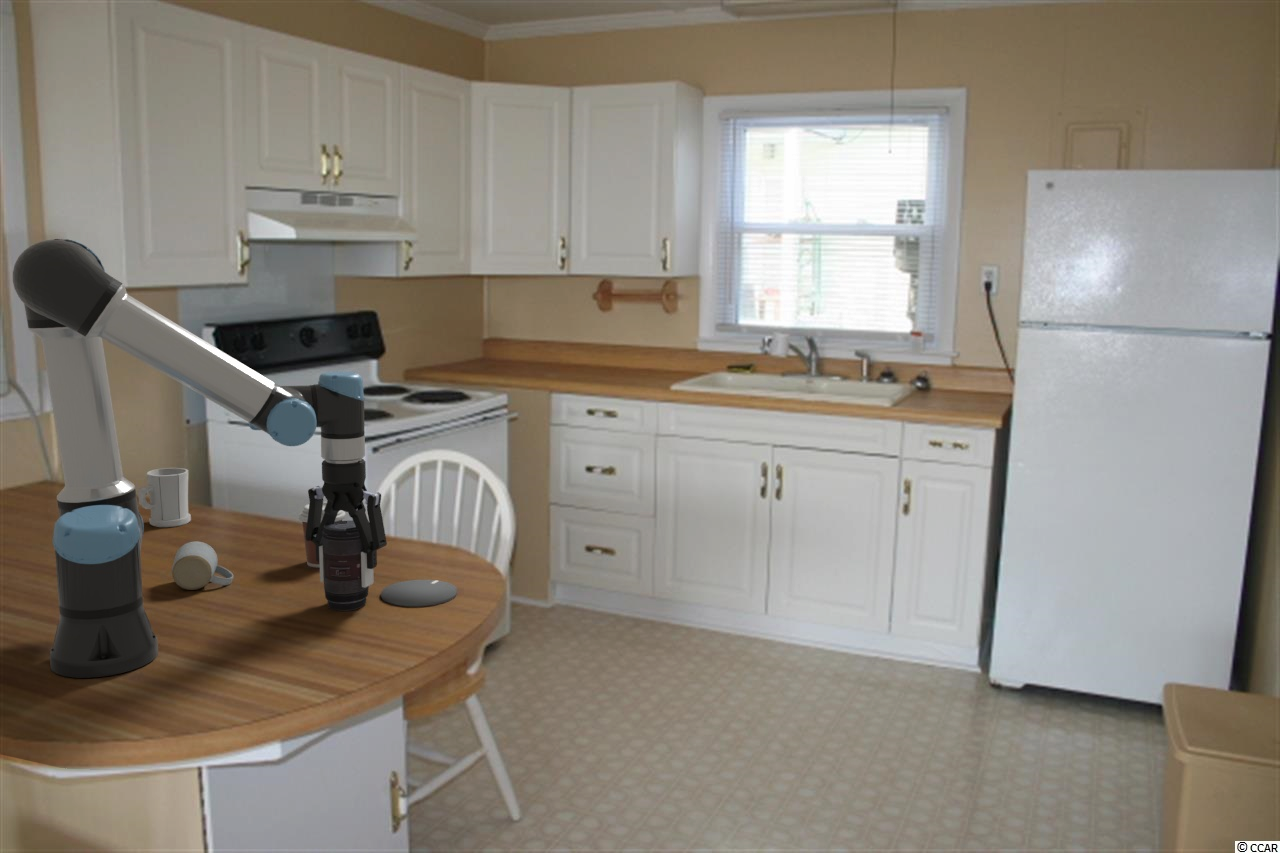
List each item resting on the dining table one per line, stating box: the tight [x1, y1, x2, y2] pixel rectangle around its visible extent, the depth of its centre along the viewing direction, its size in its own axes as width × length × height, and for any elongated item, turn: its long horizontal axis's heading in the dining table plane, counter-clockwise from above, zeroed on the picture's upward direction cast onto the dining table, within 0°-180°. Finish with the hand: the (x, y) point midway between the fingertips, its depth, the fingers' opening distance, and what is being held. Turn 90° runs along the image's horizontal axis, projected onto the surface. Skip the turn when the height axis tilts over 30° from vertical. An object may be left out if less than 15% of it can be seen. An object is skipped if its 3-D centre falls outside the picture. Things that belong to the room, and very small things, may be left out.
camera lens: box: [322, 520, 370, 612], centre depth 196 cm, size 8×8×15 cm
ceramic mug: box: [171, 540, 234, 591], centre depth 206 cm, size 11×8×8 cm
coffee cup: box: [298, 501, 346, 569], centre depth 221 cm, size 9×9×12 cm
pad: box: [380, 579, 458, 608], centre depth 204 cm, size 14×14×1 cm
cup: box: [137, 467, 192, 528], centre depth 248 cm, size 10×9×12 cm
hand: (346, 582), depth 197 cm, fingers closed on camera lens, 8 cm apart
